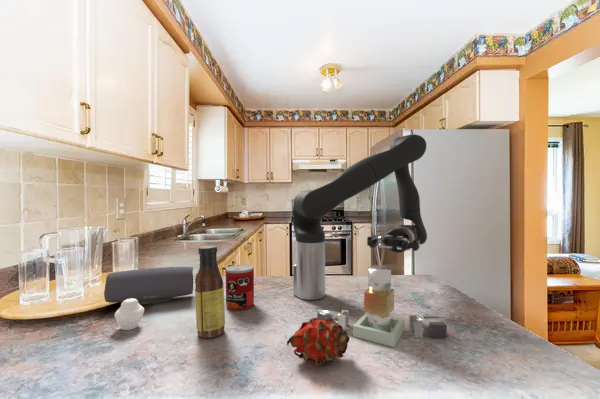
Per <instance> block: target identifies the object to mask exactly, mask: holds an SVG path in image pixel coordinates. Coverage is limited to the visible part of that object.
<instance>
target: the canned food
mask: <svg viewBox="0 0 600 399" xmlns="http://www.w3.org/2000/svg"><path fill="white" fill-rule="evenodd" d="M254 271H255V270H254V266H253V265H251V264H234V265H230V266H227V267H226V268H225V305H226V307H227V309H228V310H230V311H237V312H238V311H244V310H245V311H246V310H249V309H250V308H251V307H252V306H254V302H255V299H254V298H255V290H254V288H255V284H254V282H255V281H254V280H255V278H254V277H255V272H254Z"/></svg>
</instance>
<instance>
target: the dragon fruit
mask: <svg viewBox="0 0 600 399" xmlns="http://www.w3.org/2000/svg"><path fill="white" fill-rule="evenodd" d="M324 319H325V320H324ZM324 319H323V318H321V319H320V320H319V319H318V318H317V317H312V318H310V319H309V321H304V322H302V323H301V326H300V327H299V329H297V330H296V331H295V332H294V334H293V335H291V336H290V337H289V339H288V340H287V341H286V345H287V346H289V344H290V345H291V347H292V348H295V349H293V351H292V353H293V354H294V355H295V356H296V357H298V358H299V359H304V361H306V360H314V361H315V362H314V364H315V365H316V366H317V367H319V366H321V365H323V364H325V363H326V362H327V363H332V362H333V361H334V360H335V357H336V358H339V359H341V358H344V356H345V355H344V354H345V353H346V351H347V349H348V344H349V343H350V340H351V338H350V337H349V335H348V332H347V330H346V331H345V330H343V328H342V326H341V325H339V324H338V322H335V323H333V321H332V320H331V319H329V318H328V317H324Z"/></svg>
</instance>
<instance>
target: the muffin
mask: <svg viewBox="0 0 600 399" xmlns="http://www.w3.org/2000/svg"><path fill="white" fill-rule="evenodd" d="M144 312H145V308H144V307H143V306H142V304H139V303H138V300H137V299H134V298H131V299H130V298H129V299H127V300H124V301H123V302H120V307H119V308H118V309H117V310H116V311H115V313H114V319H115V320H116V322H117V324H118V325H119V326H120V328H121V330H123V331H130V330H133V329H136V328H138V327H139V324H140V322H141V321H142V318H143V316H144Z"/></svg>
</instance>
